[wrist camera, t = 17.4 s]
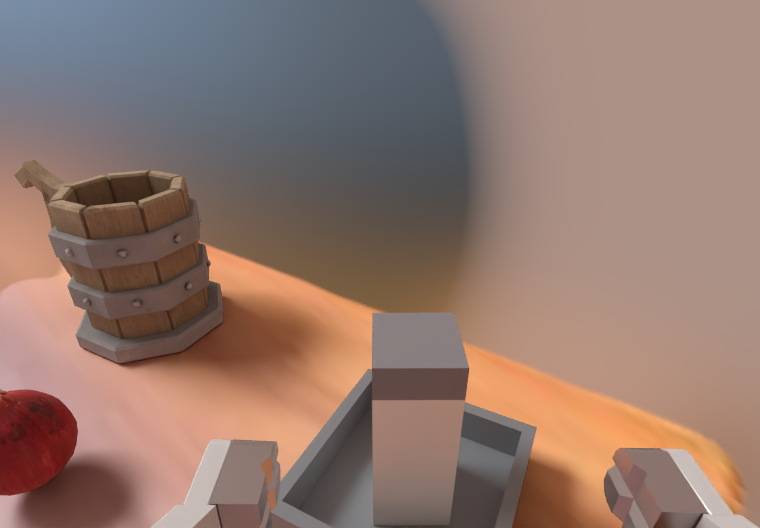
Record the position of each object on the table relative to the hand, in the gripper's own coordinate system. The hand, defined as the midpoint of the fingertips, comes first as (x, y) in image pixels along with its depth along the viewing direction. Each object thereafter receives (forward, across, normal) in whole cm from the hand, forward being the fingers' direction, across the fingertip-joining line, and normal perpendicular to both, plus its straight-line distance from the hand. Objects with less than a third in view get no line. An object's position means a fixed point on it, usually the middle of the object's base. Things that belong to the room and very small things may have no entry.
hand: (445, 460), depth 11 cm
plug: (+11, -1, +17) cm, 20 cm away
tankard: (+32, +27, +19) cm, 45 cm away
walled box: (+11, -1, +17) cm, 21 cm away
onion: (+12, +23, +18) cm, 32 cm away
